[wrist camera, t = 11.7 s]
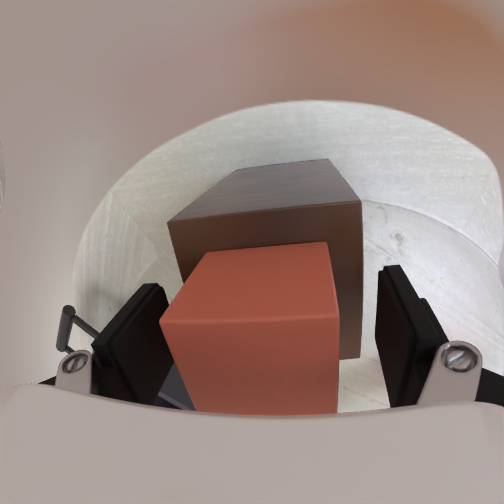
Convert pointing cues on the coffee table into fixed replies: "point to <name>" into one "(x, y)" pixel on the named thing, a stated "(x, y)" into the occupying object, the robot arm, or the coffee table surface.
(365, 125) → the coffee table surface
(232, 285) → the block
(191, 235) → the block
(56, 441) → the robot arm
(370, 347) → the coffee table surface
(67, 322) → the pull-out drawer
